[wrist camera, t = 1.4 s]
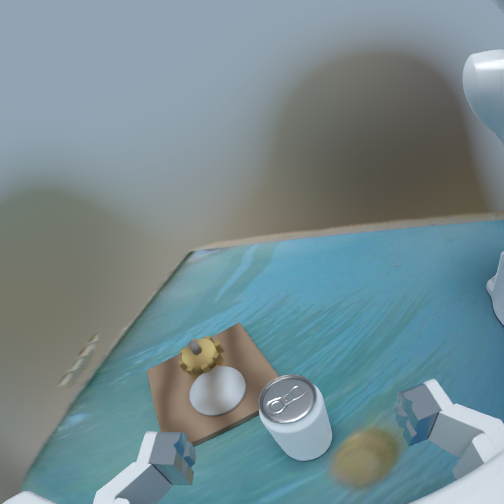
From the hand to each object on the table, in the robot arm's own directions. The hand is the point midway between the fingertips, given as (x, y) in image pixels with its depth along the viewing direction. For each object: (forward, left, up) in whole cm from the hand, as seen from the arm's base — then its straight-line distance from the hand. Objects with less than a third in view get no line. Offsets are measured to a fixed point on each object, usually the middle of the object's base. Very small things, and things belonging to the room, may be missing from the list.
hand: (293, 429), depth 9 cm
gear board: (+6, -27, -26) cm, 38 cm away
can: (-2, -10, -26) cm, 28 cm away
